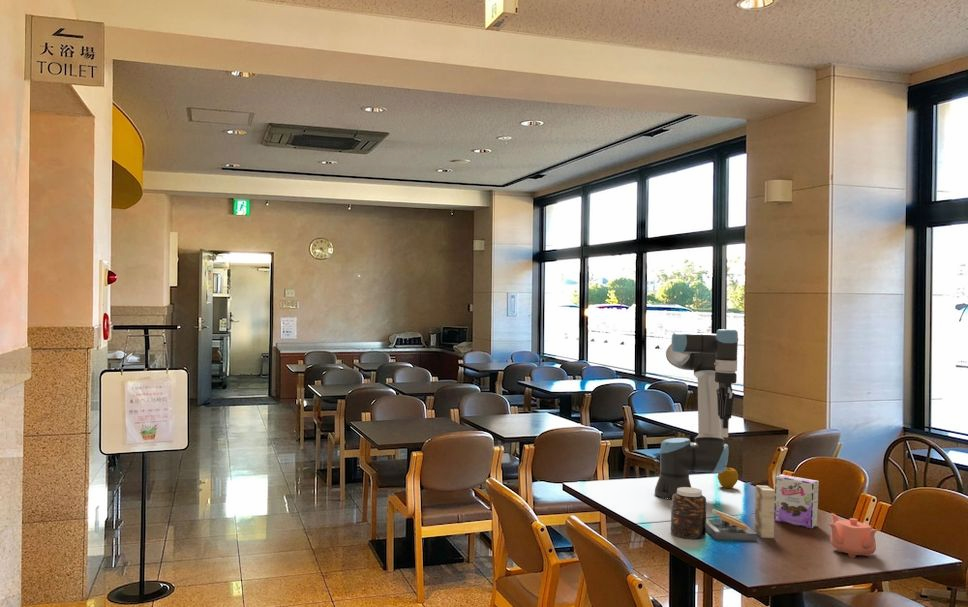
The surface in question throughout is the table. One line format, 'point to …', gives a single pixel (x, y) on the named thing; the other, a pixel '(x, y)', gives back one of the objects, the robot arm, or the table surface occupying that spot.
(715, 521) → the grey square base
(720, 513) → the paddle far
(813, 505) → the candy box
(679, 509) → the jar
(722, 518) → the orange wooden board
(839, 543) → the pink rounded pig figure
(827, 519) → the table surface
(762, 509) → the birch block
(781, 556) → the table surface
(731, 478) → the apple
